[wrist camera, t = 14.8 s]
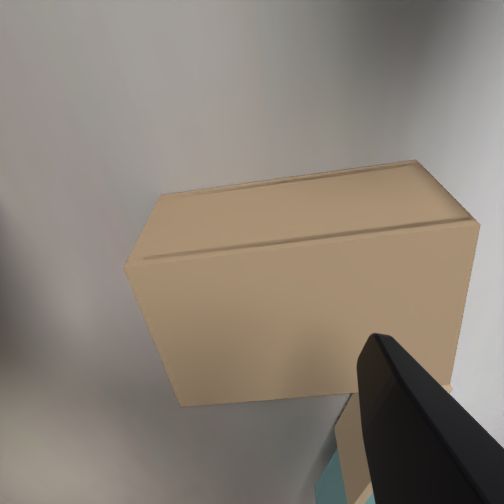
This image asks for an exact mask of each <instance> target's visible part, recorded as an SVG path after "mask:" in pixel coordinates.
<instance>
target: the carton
mask: <svg viewBox="0 0 504 504" xmlns="http://www.w3.org/2000/svg"><path fill="white" fill-rule="evenodd" d="M479 229H480V224H479V223H478V222H477V221H476V220H475V219H474V218H473V217H472V216H471V215H470V214H469V213H468V212H467V211H466V209H465V208H464V207H463V206H462V205H461V204H460V203H459V202H458V201H457V200H456V199H455V198H454V197H453V196H452V195H451V194H450V193H449V192H448V191H447V190H446V189H445V188H444V187H443V186H442V185H441V184H440V183H439V182H438V181H437V180H436V179H435V178H434V177H433V176H432V175H431V174H430V173H429V172H428V171H427V170H426V169H425V168H424V167H423V166H422V165H421V164H420V163H419V162H418V161H417V160H412V161H404V162H397V163H390V164H383V165H376V166H368V167H361V168H354V169H347V170H339V171H332V172H325V173H318V174H311V175H303V176H296V177H289V178H282V179H275V180H267V181H260V182H253V183H246V184H238V185H231V186H224V187H217V188H210V189H202V190H195V191H188V192H181V193H173V194H166V195H160V196H159V198H158V200H157V202H156V204H155V206H154V208H153V210H152V212H151V214H150V216H149V218H148V220H147V222H146V224H145V226H144V228H143V230H142V232H141V234H140V236H139V238H138V240H137V242H136V244H135V246H134V248H133V250H132V252H131V254H130V256H129V258H128V260H127V262H126V264H125V266H124V271H125V273H126V276H127V278H128V280H129V283H130V285H131V288H132V290H133V293H134V295H135V297H136V300H137V302H138V305H139V307H140V310H141V312H142V314H143V317H144V319H145V322H146V324H147V327H148V329H149V331H150V334H151V336H152V339H153V341H154V344H155V346H156V349H157V351H158V353H159V356H160V358H161V361H162V363H163V366H164V368H165V370H166V373H167V375H168V378H169V380H170V383H171V385H172V387H173V390H174V392H175V395H176V397H177V400H178V402H179V404H180V407H191V406H203V405H215V404H227V403H239V402H251V401H263V400H275V399H287V398H298V397H310V396H322V395H334V394H346V393H358V381H357V369H356V366H357V360H358V357H359V355H360V353H361V351H362V349H363V347H364V345H365V343H366V341H367V339H368V337H369V336H370V335H371V334H372V333H380V334H386V335H390V336H392V337H393V338H394V339H395V340H396V341H397V342H398V343H399V344H400V345H401V346H402V347H403V348H404V349H405V350H406V351H407V352H408V353H409V354H410V355H411V356H412V357H413V358H414V359H415V360H416V361H417V362H418V363H419V364H420V365H421V366H422V367H423V368H424V369H425V370H426V371H427V372H428V373H429V374H430V375H431V376H432V377H433V378H434V379H435V380H436V381H437V382H438V383H439V384H440V385H450V381H451V376H452V370H453V365H454V360H455V355H456V349H457V344H458V339H459V334H460V329H461V323H462V318H463V313H464V308H465V302H466V297H467V292H468V287H469V282H470V276H471V271H472V266H473V261H474V255H475V250H476V245H477V240H478V234H479Z"/></svg>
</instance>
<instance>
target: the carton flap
mask: <svg viewBox="0 0 504 504" xmlns="http://www.w3.org/2000/svg"><path fill="white" fill-rule="evenodd" d="M441 386H442V387H443V388H444V389H445V390H446V391H447V392H448V393H450V392H451V391H452V390H453V389H452V387H451V385H441ZM334 430H335V436H336V442H337V447H338V448H337V449H336V451H335V453H334V454H333V456H332V458H331V459H330V461H329V463H328V465H327V466H326V468H325V470H324V471H323V473H322V475H321V476H320V478H319V480H318V481H317V483H316V485H315V494H316V503H317V504H375V499H374V494H373V489H372V484H371V478H370V473H369V468H368V463H367V458H366V453H365V448H364V442H363V436H362V427H361V416H360V404H359V393H353V394H352V396H351V398H350V400H349V401H348V403H347V405H346V407H345V409H344V410H343V412H342V414H341V416H340V418H339V420H338V421H337V423H336V425H335V427H334Z"/></svg>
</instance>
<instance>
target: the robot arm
mask: <svg viewBox="0 0 504 504" xmlns="http://www.w3.org/2000/svg"><path fill="white" fill-rule="evenodd" d="M356 369H357V381H358V393H359V404H360V416H361V427H362V436H363V442H364V448H365V453H366V458H367V463H368V468H369V473H370V478H371V484H372V489H373V494H374V499H375V504H504V448H503V447H502V446H501V445H500V444H499V443H498V442H497V441H496V440H495V439H494V438H493V437H492V436H491V435H490V434H489V433H488V432H487V431H486V430H485V429H484V428H483V427H482V426H481V425H480V424H479V423H478V422H477V421H476V420H475V419H474V418H473V417H472V416H471V415H470V414H469V413H468V412H467V411H466V410H465V409H464V408H463V407H462V406H461V405H460V404H459V403H458V402H457V401H456V400H455V399H454V398H453V397H452V396H451V395H450V394H449V393H448V392H447V391H446V390H445V389H444V388H443V387H442V386H441V385H440V384H439V383H438V382H437V381H436V380H435V379H434V378H433V377H432V376H431V375H430V374H429V373H428V372H427V371H426V370H425V369H424V368H423V367H422V366H421V365H420V364H419V363H418V362H417V361H416V360H415V359H414V358H413V357H412V356H411V355H410V354H409V353H408V352H407V351H406V350H405V349H404V348H403V347H402V346H401V345H400V344H399V343H398V342H397V341H396V340H395V339H394V338H393V337H392V336H390V335H386V334H380V333H372V334H371V335H370V336H369V337H368V339H367V341H366V343H365V345H364V347H363V349H362V351H361V353H360V355H359V357H358V360H357V366H356Z"/></svg>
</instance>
